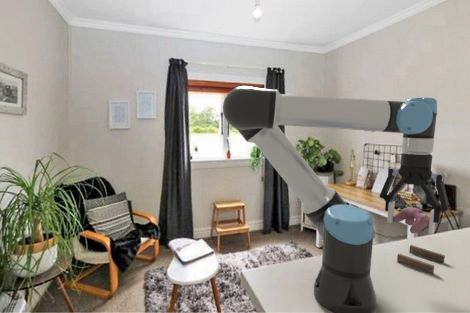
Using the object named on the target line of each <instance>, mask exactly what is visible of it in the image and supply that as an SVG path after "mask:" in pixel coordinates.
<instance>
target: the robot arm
mask: <svg viewBox="0 0 470 313" xmlns="http://www.w3.org/2000/svg"><path fill="white" fill-rule="evenodd" d="M222 112H223V116H224V118H225V120H226V122H227V123H228V124H229V125H230V126H232V128H235V129H236V130H237V131H238V133H239V134H240V135H241V136H242V138H243V139H244V140H245V141H246V143H252V144H255V146H256V147H257V149H258V150H259V151H260V152H261V153H262V155H263V156H264V157H265V158H266V159H267V161H268V162H269V163H270V165H271V166H272V167H273V168H274V169H275V171H276V172H277V173H278V175H279V176H280V177H281V178H282V180H283V181H284V182H285V183H286V184H287V186H288V187H289V188H290V190H292V192H293V193H294V195H295V196H296V197H297V199H298V200H299V201H300V202H301V204H302V205H303V206H302V212H303V213H304V215H305V216H306V217H307V218H308V220H309V221H310V223H312V225H313V226H314V228H315V229H316V230H317V232H318V234H319V236H320V238H321V240H322V259H321V260H322V261H321V266H320V269H319V271H318V274H317V276H316V278H315V281H314V283H313V296H314V298H315V300H316V301H317V302H318V303H319V304H320V305H321V306H323V307H324V308H326V310H329V311H331V312H333V313H373V312H374V311H375V309H376V303H377V295H376V292H375V288H374V284H373V281H372V278H371V269H372V268H371V267H372V266H371V265H372V254H373V242H374V236H375V228H374V219H373V217H372V216H371V214H370V213H369V212H368V211H367V210H365V209H362V208H359V207H357V206H354V205H350V204H347V203H346V201H345V200H344V199H343V198H342V197H341V196H340V194H339V193H338V192H337V191H336V189H335V188H333V187H330V186H329V187H328V186H326V185H325V183H324V182H323V181H322V180H321V178H320V177H319V176H318V175H317V174H316V172H315V171H314V170H313V169H312V168H311V166H310V165H309V164H308V162H307V161H306V160H305V158H304V157H303V156H302V154H300V152H299V151H298V150H297V149H296V147H295V145H294V144H293V143H292V142H291V141H290V139H289V138H288V137H287V136H286V135H285V133H284V132H283V130H281V128H280V127H279V126H286V127H287V126H288V127H291V126H292V127H303V128H304V127H306V128H319V129H321V128H322V129H333V130H334V129H335V130H351V131H352V130H353V131H365V132H373V133H374V132H382V133H393V134H394V133H395V134H402V140H401V141H402V143H401V151H402V153H401V155H400V167H399V168H395V167H391V168H388V170H387V178H386V180H385V182H384V184H383V187H382V189H381V191H380V193H379V198H380V199H383V200H384V201H385V207H384V210H385V212H387V220H386V222H387V223H388V224H391V223H394V221H393V217H394V216H395V206H396V201H395V200H394V198H395V197H396V196H397V195H398V193H400V191H401V190H402V189H403V187H405V186H406V185H414V186H417V187H420V188H421V190H422V191H423V192H424V195H425V196H426V198H427V200H428V202H429V204H430V205H431V207H432V209H431V210H430V213H429V217H430V221H429V225H428V232H427V234H428V235H432V234H434V233H435V230H436V224H439V223H440V221H441V214H442V212H447V211H449V210H450V209H451V206H450V202H449V198H448V195H447V191H446V186H445V183H444V180H445V174H444V173H439V174H438V173H434V172H433V171H432V163H433V155H432V153H433V151H434V142H435V132H436V123H437V116H438V100H437V99H435V98H433V97H411V98H407V99H406V100H405V101H399V100H398V101H397V100H385V99H384V100H381V99H367V98H365V99H363V98H348V97H347V98H346V97H334V96H333V97H330V96H329V97H328V96H313V95H298V94H297V95H296V94H283V93H282V94H281V93H280V92H279V90H278V89H269V88H260V87H254V86H248V85H242V86H237V87H235V88H233V89H232V90H230V91H229V92H228V93H227V95H226V96H225V98H224V100H223V105H222ZM398 174H399V176H400V177H401V179H400V180H399V181H398V182H397V184H396V185H395V187H393V189H392V190H391V191H390V189H391V187H392V184H393V182H394V180H395V178H396V176H397V175H398ZM431 178H432V180H433V182H435V186H436V191H437V194H438V198H437V197H436V194H435V192H434V191H433V189H432V188H431V184H430V183H429V180H430V179H431ZM438 199H439V200H438Z"/></svg>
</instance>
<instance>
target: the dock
mask: <svg viewBox="0 0 470 313" xmlns="http://www.w3.org/2000/svg"><path fill="white" fill-rule="evenodd" d="M409 253H410V254H412V255H416V256H419V257H421V258H425V259H427V260H431V261H434V262H436V263H441V264H444V263H445V258H446V257H445V256H446V255H445V254H442V253H438V252H435V251H432V250H429V249H425V248H422V247H419V246H417V245H413V244H411V245H409ZM396 257H397V258H396V262H397V263H399V264H402V265H404V266H407V267H410V268H414V269H416V270H419V271H421V272H424V273H427V274H430V275H433V274H434V272H435V265H433V264H431V263H428V262H425V261H422V260H420V259H417V258H413V257H410V256H407V255H404V254H402V253H398V254H397V256H396Z"/></svg>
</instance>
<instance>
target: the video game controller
mask: <svg viewBox="0 0 470 313" xmlns="http://www.w3.org/2000/svg"><path fill="white" fill-rule="evenodd" d="M402 221H404V223H405V224H406V225H408V226H409V227H410V228H409V232H410V233H411V234H418V233H420V232H421V231H423V230H424V229H425V228H426V227H429V221H430V216H428V214H427V213H426V212H425V211H424V210H421V209H420V208H418V207H415V206H414V207H412V206H411V207H410V206H409V205H407V206H406V207H404V208H402V209H401V210H400V211H399V212H397V213H396V214H394V217H393V223H400V222H402Z"/></svg>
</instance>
